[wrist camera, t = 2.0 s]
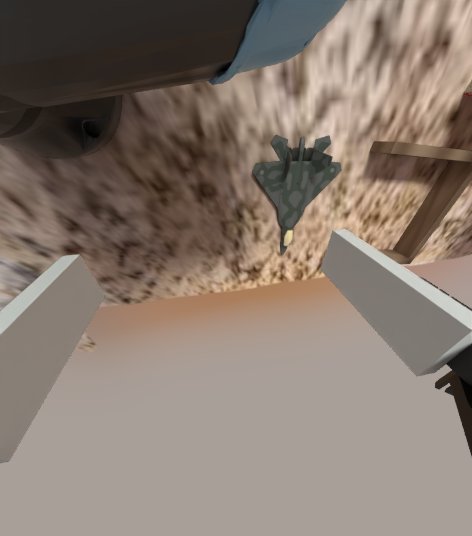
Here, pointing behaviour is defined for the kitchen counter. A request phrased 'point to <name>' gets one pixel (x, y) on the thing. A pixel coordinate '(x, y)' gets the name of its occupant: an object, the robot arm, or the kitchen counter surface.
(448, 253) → the kitchen counter surface
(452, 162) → the brown wooden bracket
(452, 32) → the kitchen counter surface
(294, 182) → the fighter jet
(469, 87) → the stack of blocks
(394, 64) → the kitchen counter surface
